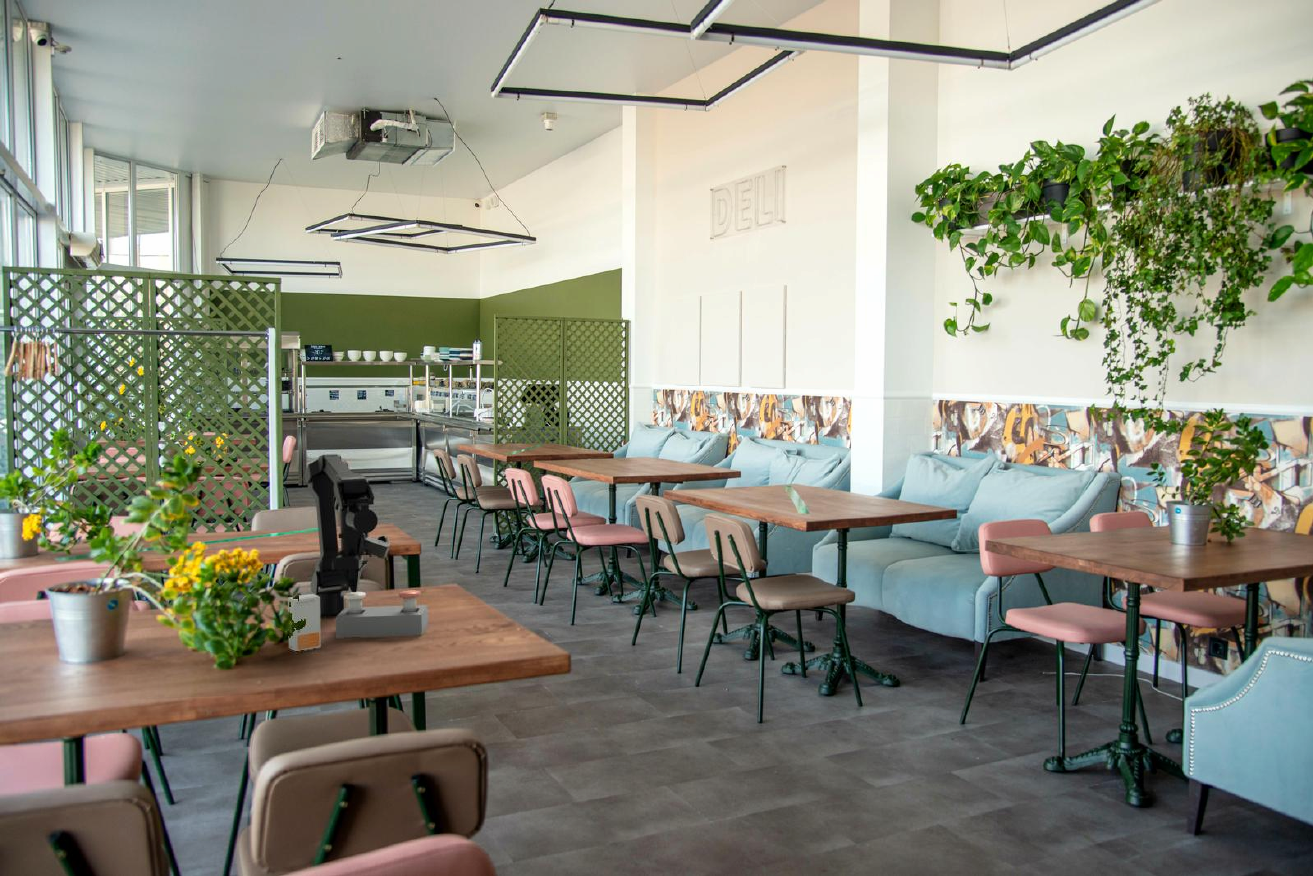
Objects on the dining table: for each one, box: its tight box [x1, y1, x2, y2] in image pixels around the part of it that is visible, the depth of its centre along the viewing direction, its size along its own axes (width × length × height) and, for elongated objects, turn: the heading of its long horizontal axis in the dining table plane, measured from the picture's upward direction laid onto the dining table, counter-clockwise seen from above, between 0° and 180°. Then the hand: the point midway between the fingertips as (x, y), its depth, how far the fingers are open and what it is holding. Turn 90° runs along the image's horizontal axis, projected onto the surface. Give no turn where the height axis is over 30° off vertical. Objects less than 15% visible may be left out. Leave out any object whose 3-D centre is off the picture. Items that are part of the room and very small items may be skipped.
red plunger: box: [398, 589, 421, 613], centre depth 233 cm, size 5×5×5 cm
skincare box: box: [287, 593, 322, 652], centre depth 218 cm, size 6×4×12 cm
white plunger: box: [344, 591, 366, 614], centre depth 231 cm, size 5×5×5 cm
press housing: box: [335, 604, 429, 639], centre depth 232 cm, size 20×10×5 cm, turn 95°
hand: (354, 592), depth 231 cm, fingers closed
